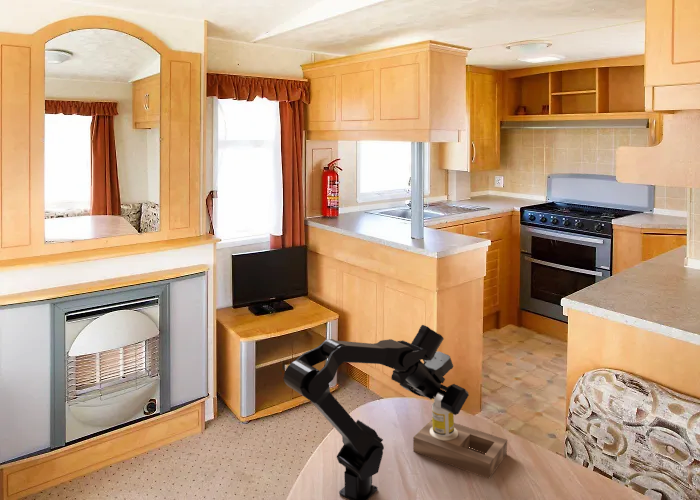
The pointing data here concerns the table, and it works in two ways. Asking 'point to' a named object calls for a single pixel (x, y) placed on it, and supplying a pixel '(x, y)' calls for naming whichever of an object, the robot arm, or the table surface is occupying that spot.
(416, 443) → the pocket block
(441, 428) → the supplement bottle
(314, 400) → the robot arm
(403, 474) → the table surface
